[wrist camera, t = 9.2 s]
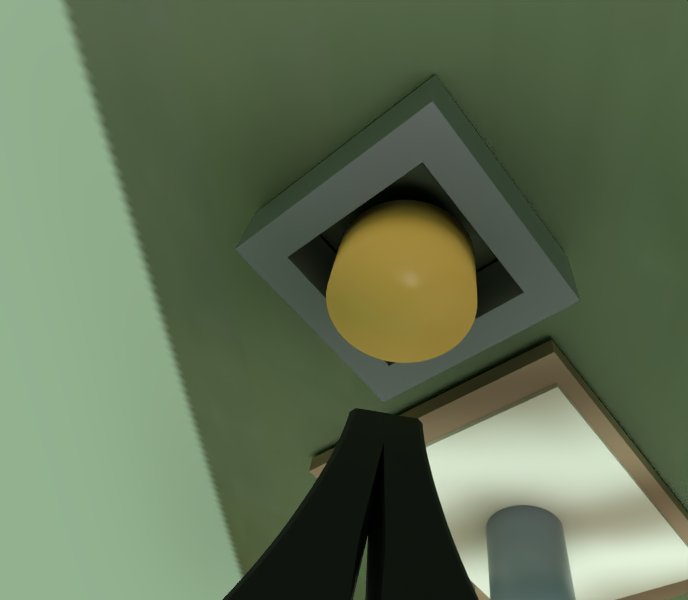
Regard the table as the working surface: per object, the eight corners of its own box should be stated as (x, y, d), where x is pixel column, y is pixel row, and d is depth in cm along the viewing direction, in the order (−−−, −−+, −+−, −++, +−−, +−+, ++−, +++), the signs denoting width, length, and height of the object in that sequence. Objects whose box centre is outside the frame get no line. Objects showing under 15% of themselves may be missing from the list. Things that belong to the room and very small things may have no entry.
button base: (567, 256, 20) (580, 300, 18) (389, 355, 23) (383, 402, 21) (435, 74, 18) (432, 101, 16) (256, 211, 21) (234, 249, 19)
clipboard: (729, 565, 27) (740, 593, 26) (499, 630, 32) (500, 656, 30) (551, 339, 22) (556, 362, 21) (312, 458, 27) (306, 481, 26)
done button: (502, 276, 19) (507, 320, 17) (393, 338, 20) (387, 383, 19) (420, 172, 17) (416, 207, 15) (311, 248, 19) (295, 287, 17)
